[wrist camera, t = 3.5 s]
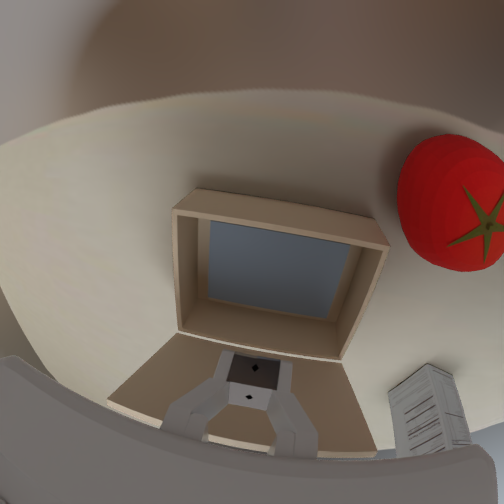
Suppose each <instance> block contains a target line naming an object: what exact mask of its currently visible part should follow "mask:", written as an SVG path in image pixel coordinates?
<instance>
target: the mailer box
mask: <svg viewBox="0 0 504 504" xmlns="http://www.w3.org/2000/svg"><path fill="white" fill-rule="evenodd" d="M172 246H173V268H174V285H175V300H176V312H177V323H178V330H179V331H183V332H187V333H191V334H195V335H199V336H204V337H208V338H212V339H217V340H221V341H226V342H230V343H235V344H240V345H245V346H250V347H255V348H261V349H266V350H272V351H278V352H284V353H290V354H297V355H304V356H311V357H318V358H326V359H334V360H342V358H343V356H344V354H345V352H346V350H347V348H348V346H349V344H350V342H351V340H352V338H353V336H354V334H355V332H356V330H357V328H358V325H359V323H360V321H361V319H362V317H363V314H364V312H365V310H366V308H367V305H368V303H369V301H370V298H371V296H372V294H373V291H374V289H375V286H376V284H377V281H378V279H379V276H380V274H381V271H382V269H383V266H384V263H385V261H386V258H387V255H388V252H389V250H390V247H391V246H390V245H389V243H388V241H387V239H386V238H385V236H384V234H383V232H382V231H381V229H380V227H379V226H378V224H377V222H376V221H375V219H373V218H369V217H364V216H360V215H355V214H350V213H345V212H340V211H335V210H330V209H325V208H320V207H315V206H309V205H304V204H298V203H293V202H287V201H281V200H275V199H269V198H263V197H256V196H250V195H243V194H236V193H229V192H222V191H215V190H207V189H199V188H196V189H195V190H193V191H192V192H191V193H190V194H189V195H187V196H186V197H185V198H184V199H182V200H181V201H180V202H179V203H178V204H176V205H175V206H174V207H173V208H172Z"/></svg>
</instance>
